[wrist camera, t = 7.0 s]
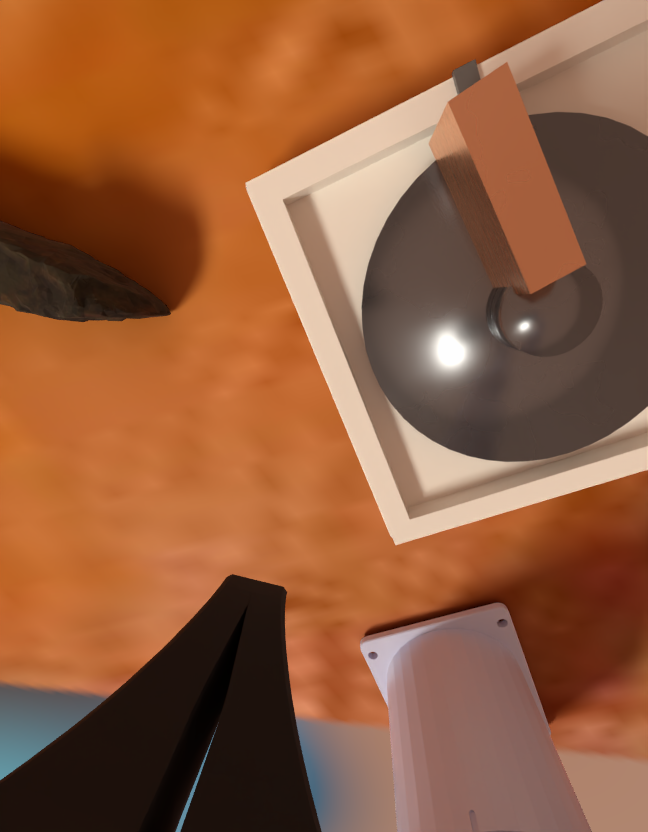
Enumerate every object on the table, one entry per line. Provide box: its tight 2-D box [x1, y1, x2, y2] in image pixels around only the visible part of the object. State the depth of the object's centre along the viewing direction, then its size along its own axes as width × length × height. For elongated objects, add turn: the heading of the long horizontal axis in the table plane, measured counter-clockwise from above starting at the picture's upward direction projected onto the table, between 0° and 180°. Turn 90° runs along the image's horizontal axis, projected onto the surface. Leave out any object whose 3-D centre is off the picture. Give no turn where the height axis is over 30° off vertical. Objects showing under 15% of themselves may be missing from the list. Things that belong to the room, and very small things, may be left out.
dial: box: [361, 62, 648, 462], centre depth 13 cm, size 12×12×4 cm
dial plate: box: [246, 0, 648, 545], centre depth 15 cm, size 16×16×2 cm
